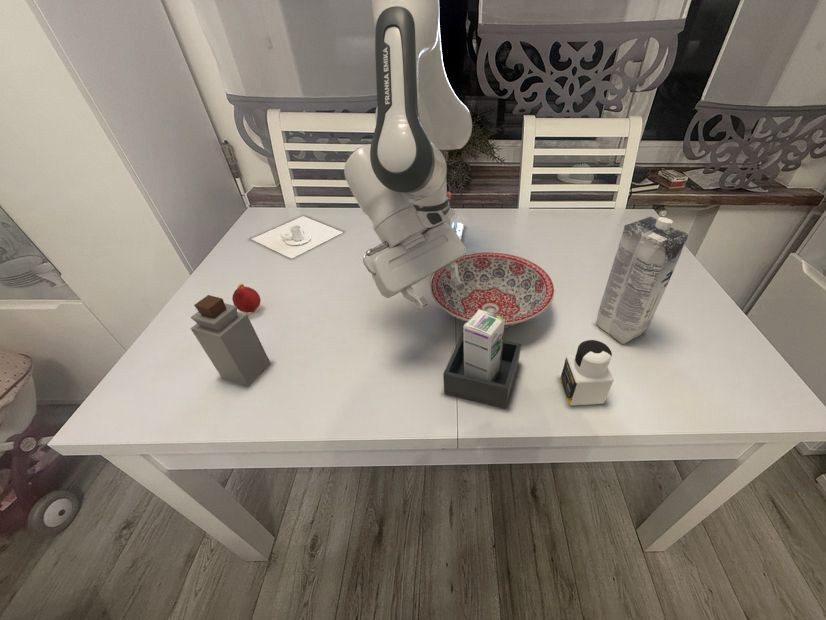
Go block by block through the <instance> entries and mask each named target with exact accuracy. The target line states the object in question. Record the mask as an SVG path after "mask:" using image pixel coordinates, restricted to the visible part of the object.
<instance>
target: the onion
mask: <svg viewBox="0 0 826 620" xmlns="http://www.w3.org/2000/svg"><path fill="white" fill-rule="evenodd" d="M231 298H232V303H233V305H234V306H237V311H239V312H241V313H246V314H249V313H255V311H256V310H257V309H259V307H260V304H261V301H262V300H261V296H260V294H259V293H258V291H257V290H255V289H254V288H252V287H250V286H245V284H243V283H239V284H238V286H237V288H236V289H235V290H234V292H233V294H232V297H231Z"/></svg>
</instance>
